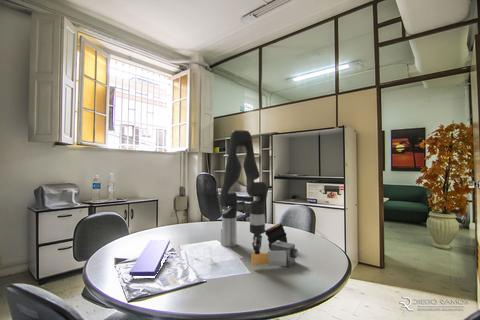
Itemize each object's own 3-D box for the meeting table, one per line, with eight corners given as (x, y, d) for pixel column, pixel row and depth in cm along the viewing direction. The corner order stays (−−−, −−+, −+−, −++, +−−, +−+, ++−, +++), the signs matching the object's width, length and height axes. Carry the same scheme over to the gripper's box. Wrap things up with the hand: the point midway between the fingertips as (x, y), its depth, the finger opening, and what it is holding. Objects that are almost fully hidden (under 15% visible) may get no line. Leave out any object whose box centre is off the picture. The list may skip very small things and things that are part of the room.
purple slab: (170, 256, 130) (170, 238, 130) (155, 279, 102) (156, 257, 102) (149, 256, 129) (149, 238, 130) (128, 281, 101) (129, 258, 102)
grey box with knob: (271, 261, 120) (270, 242, 120) (277, 257, 125) (277, 239, 126) (293, 267, 112) (293, 247, 113) (299, 263, 118) (299, 243, 118)
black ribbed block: (293, 246, 137) (282, 223, 138) (273, 256, 137) (262, 233, 137) (291, 244, 141) (280, 222, 142) (272, 254, 141) (261, 232, 141)
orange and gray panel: (289, 265, 114) (288, 249, 114) (289, 266, 112) (289, 250, 113) (251, 267, 112) (251, 250, 112) (251, 268, 111) (251, 251, 111)
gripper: (252, 219, 122) (252, 252, 122) (246, 225, 110) (246, 262, 109) (266, 219, 121) (266, 253, 120) (262, 226, 108) (262, 264, 107)
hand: (257, 257), depth 115 cm, fingers closed
